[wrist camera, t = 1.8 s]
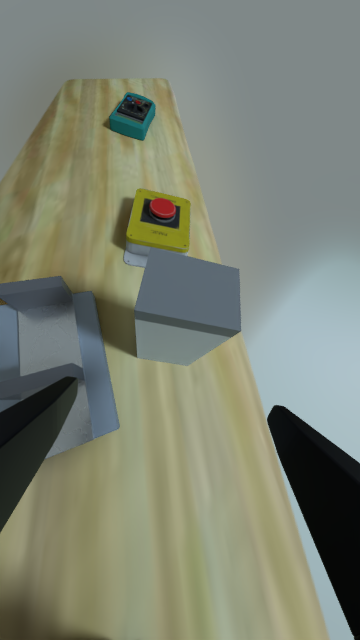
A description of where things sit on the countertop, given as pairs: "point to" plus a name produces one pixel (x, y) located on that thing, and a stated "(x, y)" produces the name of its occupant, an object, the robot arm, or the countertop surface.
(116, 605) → the countertop surface
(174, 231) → the emergency button
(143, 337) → the block
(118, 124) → the digital multimeter
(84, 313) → the rail board
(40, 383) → the end clamps
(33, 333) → the steel rail
